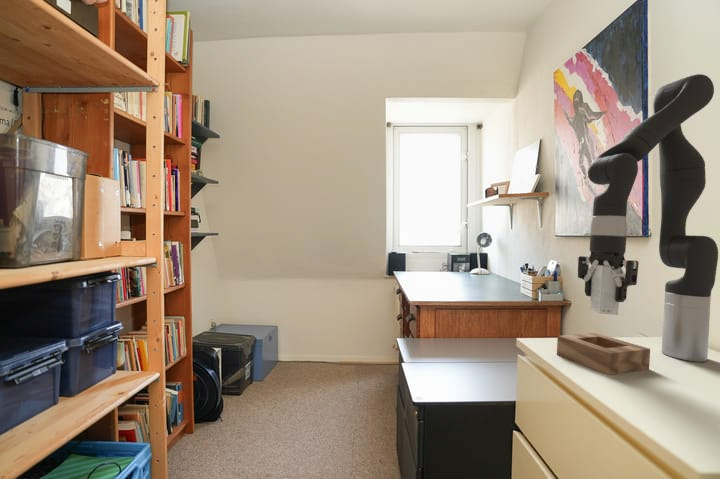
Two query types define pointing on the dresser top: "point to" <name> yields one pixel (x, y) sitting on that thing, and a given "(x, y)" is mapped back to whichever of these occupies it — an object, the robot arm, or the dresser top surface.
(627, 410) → the dresser top surface
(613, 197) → the robot arm
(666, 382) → the dresser top surface
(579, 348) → the socket block
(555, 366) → the dresser top surface
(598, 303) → the skincare box
